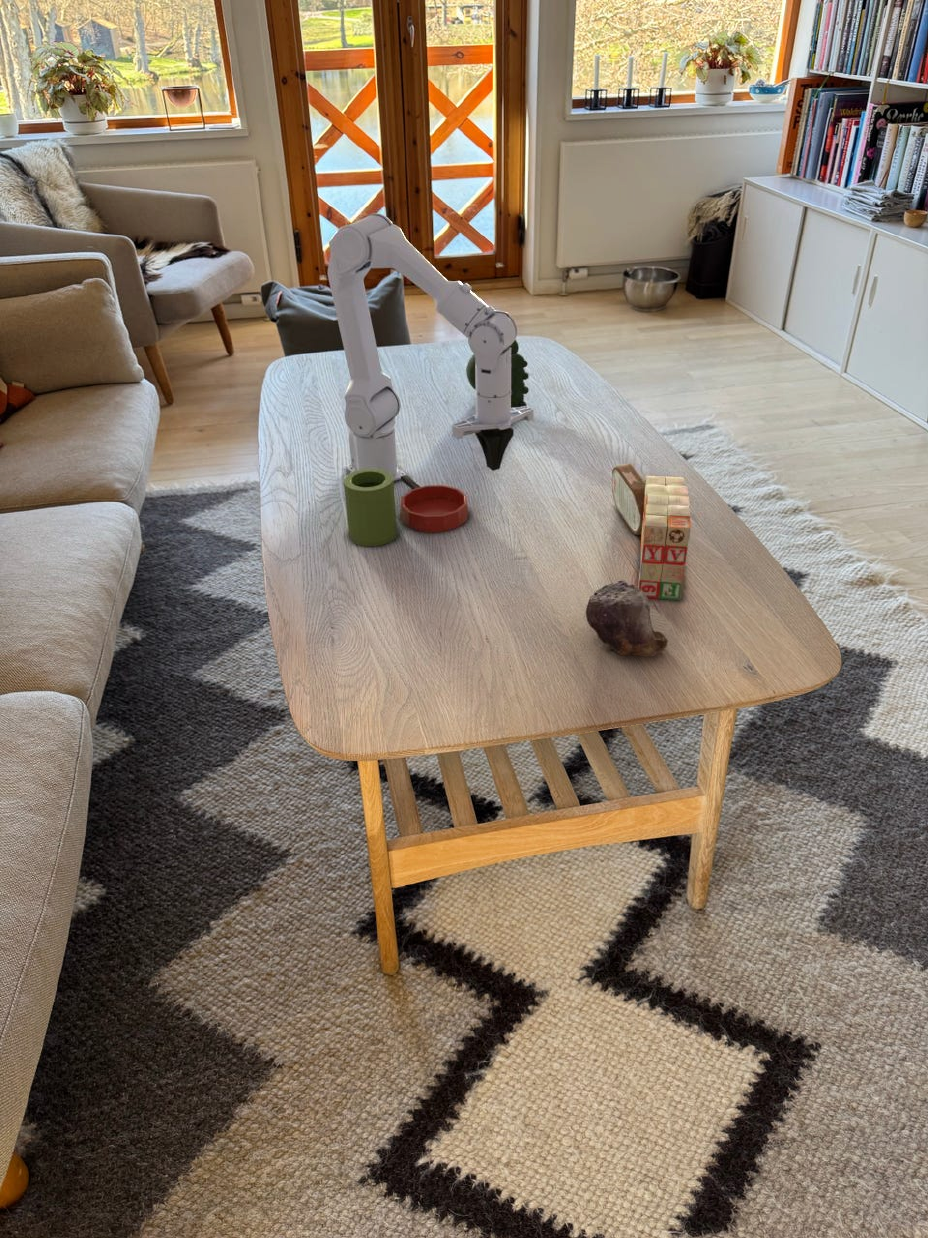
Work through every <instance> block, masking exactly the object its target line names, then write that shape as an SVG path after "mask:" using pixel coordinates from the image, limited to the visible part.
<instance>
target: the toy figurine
mask: <svg viewBox="0 0 928 1238" xmlns="http://www.w3.org/2000/svg"><path fill="white" fill-rule="evenodd" d="M510 347H511V408H515V407H523V406H528V404H527V402H526V401H524V400H525V395H527V394H528V393H529V391H530V390H529V387H528V386H526V384H525V381H526V380H528V379H529V377H530V374H529V373H528V372H526V370H525V368H526V367H528V365H529V364H528V361H527V360H526V359H525V358H524V357H525V356H523V355H522V354H521V353H519V348H520V345H519V342H518V340H517V338H516V339H515V341H514V342H513V343H512V344H511V345H510V346H509V347H508V348H510ZM465 373H466V378H467V381H468V383H469V385H470V386H471V387H472V389H474V390H475V391H476V376H475V355H474V353H472V355H471V356H470V358H469V360H468V362H467V364H466V366H465Z"/></svg>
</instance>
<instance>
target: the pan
mask: <svg viewBox="0 0 928 1238" xmlns="http://www.w3.org/2000/svg"><path fill="white" fill-rule="evenodd" d="M400 480H401V481H402V483H404V485H406V486H407V487H408V488H409V489H410V490H409V491H408V492H406V493H404V494H403V495H402V496H401V501H400V513H401V514H400V515H401V519H402V522H403V523H404V525H406V526H407V527H409V528H410V529H412V530H415V531H418V532H423V533H442V532H449V531H452V530H454V529H457V528H459V527H461V526H462V525H463V524H464V523H466V521H467V520H468V495H467V494H466V493H465V492H464V491H462V490H461V489H460V488H457V487H453V486H448V485H445V484H435V485H434V484H433V485H431V484H429V485H428V484H427V485H424V486H421V485H420V484H418V483H417V482H416V481H415V480H414V479H413V478H411V477H410V476H409V475H404V476H401V479H400Z"/></svg>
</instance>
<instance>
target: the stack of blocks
mask: <svg viewBox="0 0 928 1238" xmlns="http://www.w3.org/2000/svg"><path fill="white" fill-rule="evenodd" d="M644 482H645V484H646V485H645V497H644V513H643V523H642V534H641V535H640V536H641V537H640V553H639V554H640V561H639V564H640V565H639V572H638V573H639V575H638V585H637V588H638V589H640V590H641V591H642V592H644V593H645V595H646V597H647V598H648V599H657V600H659V599H660V600H671V601H680V600H681V598H682V597H681V596H682V592H683V591H682V590H683V585H684V582H683V581H684V573H685V565H686V563H687V558H688V557H687V556H688V548H689V542H690V541H689V540H690V535H691V529H692V527H691V501H690V497H689V496H690V495H689V487H688V486H686V478H685V477H683V476H682V477H680V476H659V475H645V480H644Z"/></svg>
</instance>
